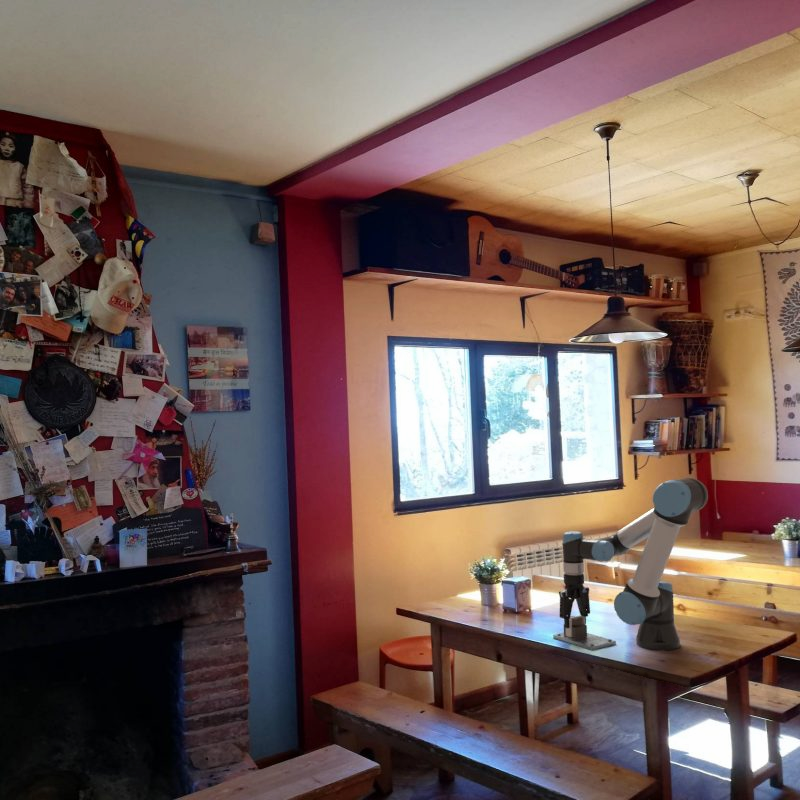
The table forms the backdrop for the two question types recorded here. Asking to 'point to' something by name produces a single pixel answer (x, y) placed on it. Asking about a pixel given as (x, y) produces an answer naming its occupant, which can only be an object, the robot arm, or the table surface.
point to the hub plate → (586, 641)
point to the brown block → (577, 627)
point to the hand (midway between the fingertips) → (575, 634)
